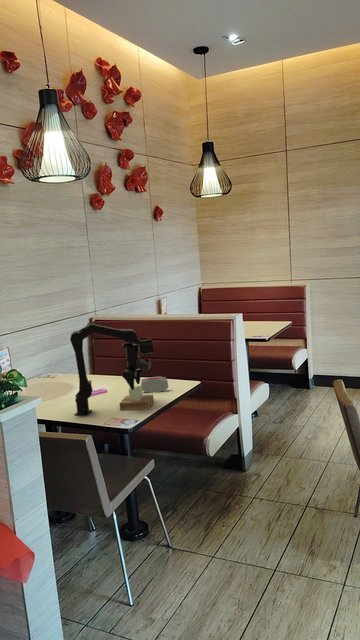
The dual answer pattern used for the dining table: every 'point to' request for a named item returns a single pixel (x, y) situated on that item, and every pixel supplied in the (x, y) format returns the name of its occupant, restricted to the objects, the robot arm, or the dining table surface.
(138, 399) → the sage cube
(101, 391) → the bracket
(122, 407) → the walnut block
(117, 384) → the dining table surface
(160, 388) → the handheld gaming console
